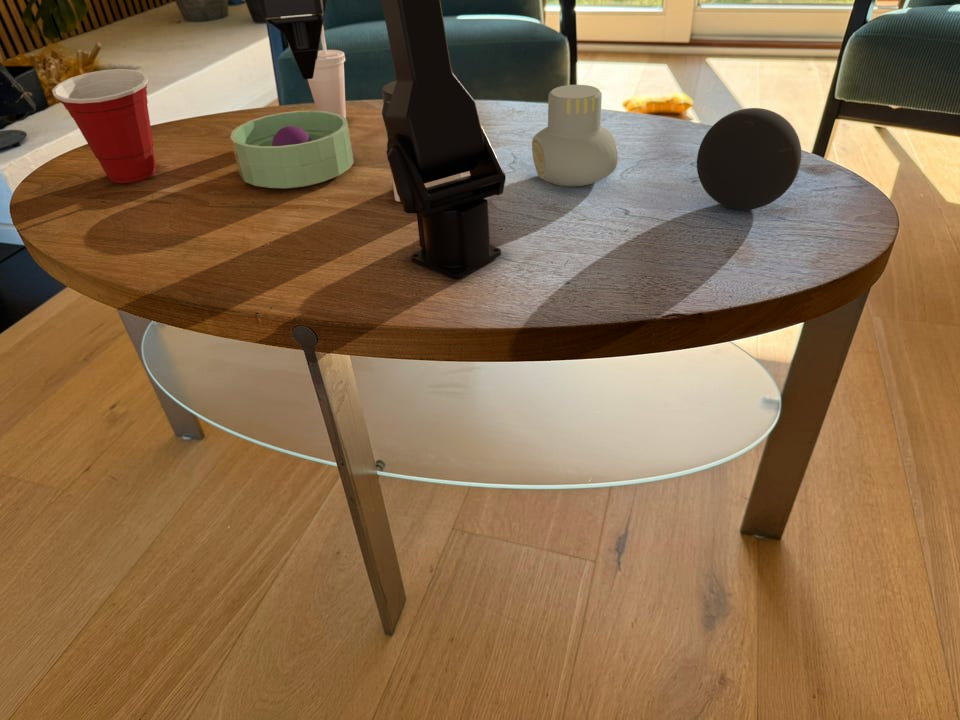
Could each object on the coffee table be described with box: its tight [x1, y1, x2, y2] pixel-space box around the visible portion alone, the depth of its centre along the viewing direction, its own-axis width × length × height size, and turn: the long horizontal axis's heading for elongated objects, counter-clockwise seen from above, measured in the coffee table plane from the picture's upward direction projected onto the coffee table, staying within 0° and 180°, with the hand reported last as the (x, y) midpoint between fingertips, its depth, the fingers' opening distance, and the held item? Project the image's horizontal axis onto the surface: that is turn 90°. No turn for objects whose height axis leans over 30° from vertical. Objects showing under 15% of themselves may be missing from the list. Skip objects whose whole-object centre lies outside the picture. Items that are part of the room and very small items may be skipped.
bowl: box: [229, 110, 355, 189], centre depth 89 cm, size 14×14×6 cm
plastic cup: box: [51, 68, 157, 184], centre depth 89 cm, size 11×11×12 cm
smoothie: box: [307, 25, 347, 119], centre depth 102 cm, size 6×6×14 cm
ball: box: [272, 126, 312, 146], centre depth 89 cm, size 5×5×5 cm
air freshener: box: [531, 84, 619, 188], centre depth 81 cm, size 11×8×10 cm
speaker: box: [696, 107, 802, 211], centre depth 73 cm, size 10×10×10 cm
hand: (310, 69), depth 85 cm, fingers open, 9 cm apart
